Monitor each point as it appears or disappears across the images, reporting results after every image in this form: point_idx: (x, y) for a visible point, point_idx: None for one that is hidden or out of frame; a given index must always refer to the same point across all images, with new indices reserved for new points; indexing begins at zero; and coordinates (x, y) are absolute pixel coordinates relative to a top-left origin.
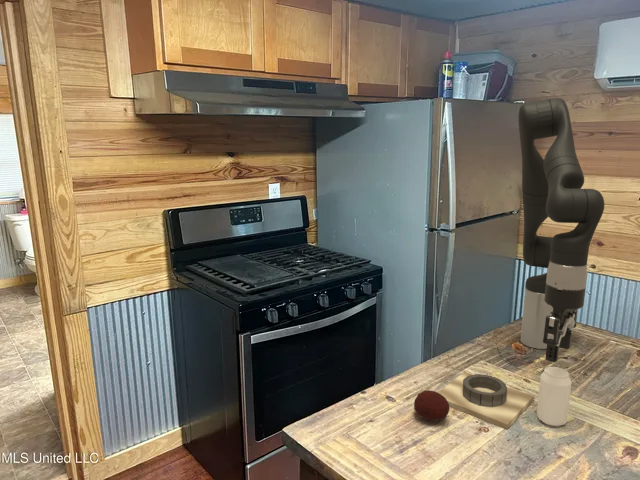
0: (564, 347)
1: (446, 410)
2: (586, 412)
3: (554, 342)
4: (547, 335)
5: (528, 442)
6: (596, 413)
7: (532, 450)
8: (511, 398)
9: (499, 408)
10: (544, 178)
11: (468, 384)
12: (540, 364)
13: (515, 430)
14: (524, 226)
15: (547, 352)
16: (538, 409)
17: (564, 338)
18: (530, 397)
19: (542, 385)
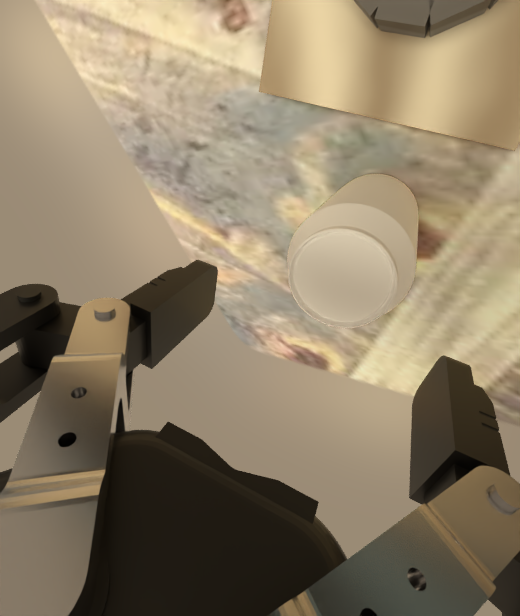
0: (425, 383)
1: None
2: (461, 313)
3: (20, 358)
4: (2, 339)
5: (237, 162)
6: (463, 336)
7: (213, 175)
8: (458, 56)
9: (349, 28)
10: None
11: None
12: None
13: (273, 118)
14: None
15: (148, 283)
16: (349, 182)
17: (429, 430)
18: (492, 138)
19: (317, 209)
